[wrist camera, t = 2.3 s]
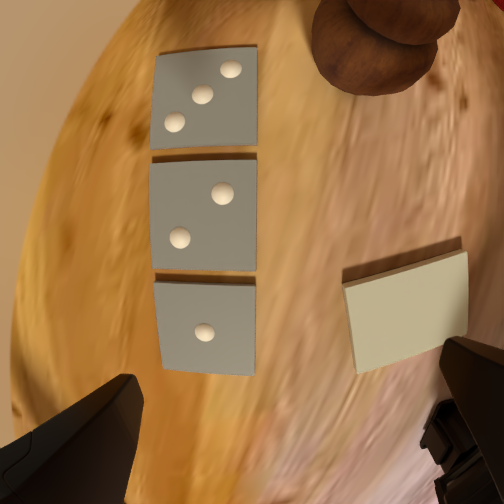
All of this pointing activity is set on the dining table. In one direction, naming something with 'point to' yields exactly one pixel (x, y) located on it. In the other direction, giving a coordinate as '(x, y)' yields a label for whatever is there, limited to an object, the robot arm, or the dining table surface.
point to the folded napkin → (407, 310)
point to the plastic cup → (499, 4)
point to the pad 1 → (205, 99)
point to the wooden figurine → (379, 42)
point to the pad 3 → (206, 326)
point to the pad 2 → (203, 215)
